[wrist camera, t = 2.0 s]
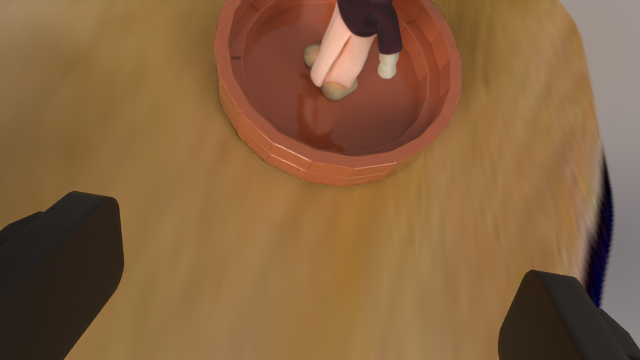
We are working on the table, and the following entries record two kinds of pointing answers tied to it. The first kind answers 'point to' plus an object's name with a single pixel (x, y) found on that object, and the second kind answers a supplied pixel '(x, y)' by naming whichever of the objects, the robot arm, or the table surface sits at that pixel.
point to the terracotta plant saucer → (339, 115)
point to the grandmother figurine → (354, 45)
